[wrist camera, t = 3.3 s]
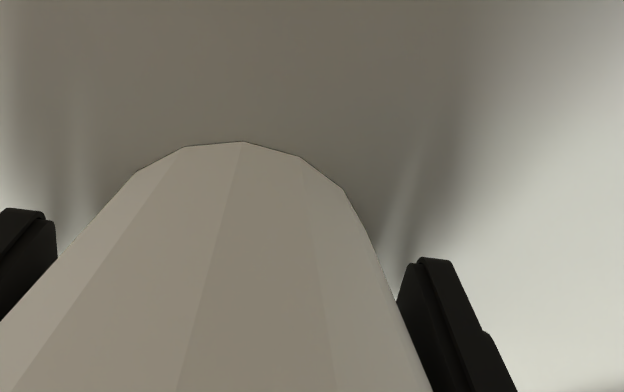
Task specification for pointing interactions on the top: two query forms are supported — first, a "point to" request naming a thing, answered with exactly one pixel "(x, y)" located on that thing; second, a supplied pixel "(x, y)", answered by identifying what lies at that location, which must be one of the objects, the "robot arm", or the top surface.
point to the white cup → (215, 289)
